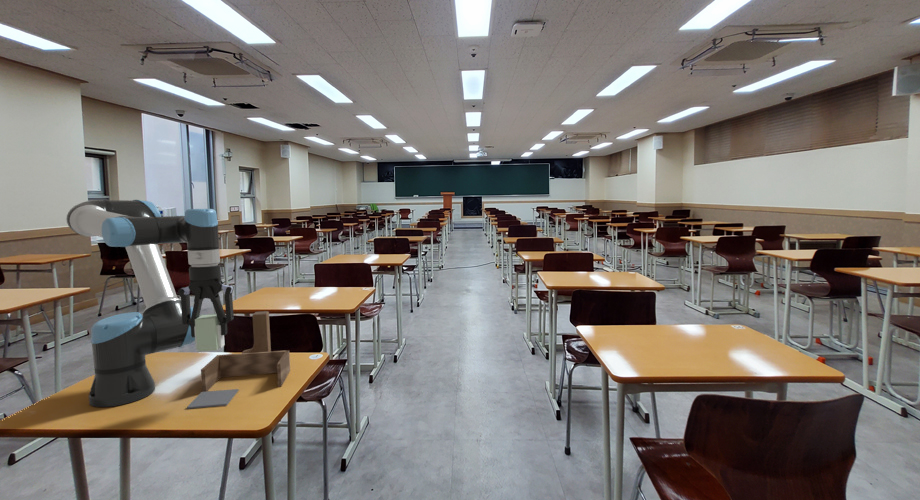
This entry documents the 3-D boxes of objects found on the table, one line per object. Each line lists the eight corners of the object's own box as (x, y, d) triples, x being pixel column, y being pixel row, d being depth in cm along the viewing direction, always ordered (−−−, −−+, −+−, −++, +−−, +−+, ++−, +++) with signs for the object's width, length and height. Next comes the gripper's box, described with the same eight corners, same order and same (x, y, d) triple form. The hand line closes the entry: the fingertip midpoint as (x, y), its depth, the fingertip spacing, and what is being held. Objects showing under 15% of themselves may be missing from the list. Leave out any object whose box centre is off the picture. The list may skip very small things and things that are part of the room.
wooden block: (240, 367, 147) (237, 315, 146) (244, 362, 152) (241, 312, 150) (269, 364, 150) (266, 313, 148) (271, 360, 154) (268, 310, 152)
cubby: (202, 392, 127) (200, 369, 126) (218, 376, 140) (217, 355, 139) (281, 386, 131) (280, 364, 130) (290, 370, 144) (289, 350, 143)
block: (197, 351, 118) (194, 319, 117) (204, 346, 123) (202, 315, 122) (216, 350, 119) (214, 318, 118) (223, 344, 124) (221, 314, 123)
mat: (186, 408, 117) (186, 407, 117) (201, 393, 127) (201, 391, 126) (226, 405, 119) (226, 403, 118) (238, 390, 128) (238, 388, 128)
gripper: (161, 268, 114) (168, 354, 116) (235, 265, 117) (240, 349, 119) (174, 264, 121) (181, 345, 123) (244, 262, 124) (248, 341, 126)
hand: (210, 347), depth 121 cm, fingers closed on block, 5 cm apart
